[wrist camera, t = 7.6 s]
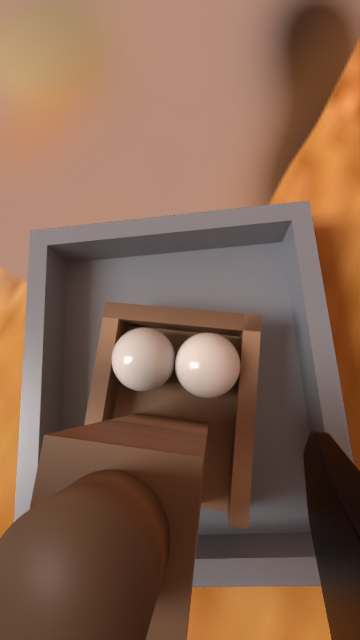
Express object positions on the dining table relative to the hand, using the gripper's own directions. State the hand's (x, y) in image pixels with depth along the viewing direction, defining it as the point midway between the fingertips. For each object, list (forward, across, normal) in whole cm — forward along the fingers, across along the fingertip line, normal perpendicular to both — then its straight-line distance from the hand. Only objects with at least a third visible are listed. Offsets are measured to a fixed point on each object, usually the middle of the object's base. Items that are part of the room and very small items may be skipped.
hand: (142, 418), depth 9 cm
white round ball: (+6, +2, +3) cm, 6 cm away
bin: (+8, 0, +5) cm, 9 cm away
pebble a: (+6, -2, +3) cm, 6 cm away
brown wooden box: (+6, 0, +6) cm, 9 cm away
